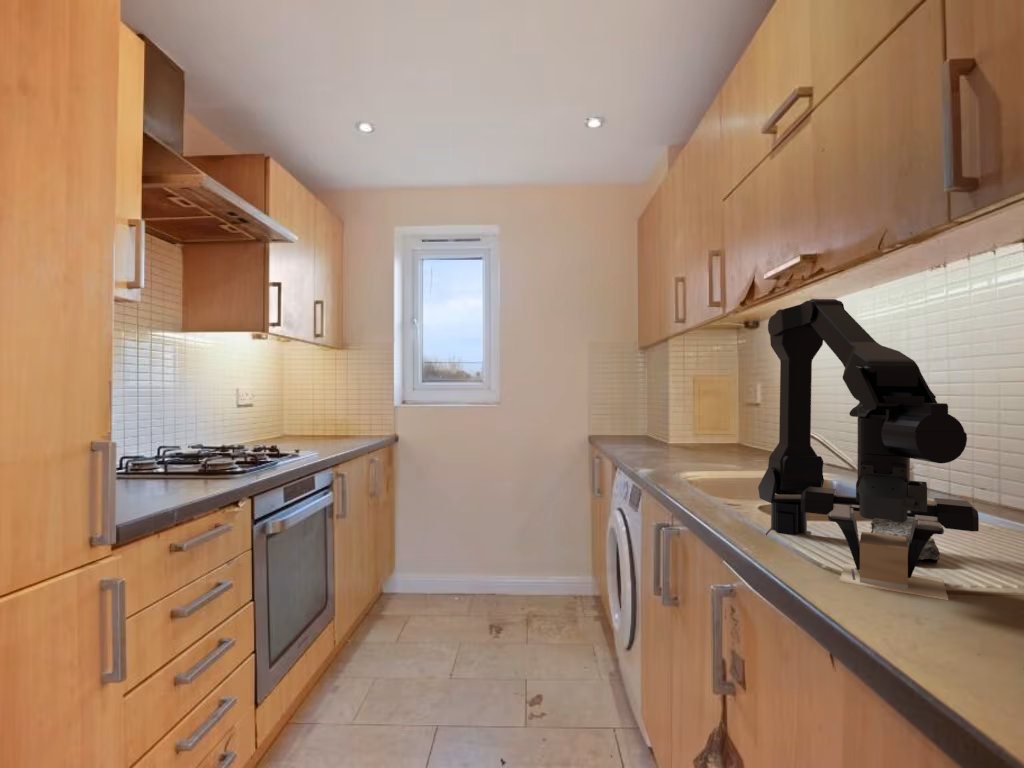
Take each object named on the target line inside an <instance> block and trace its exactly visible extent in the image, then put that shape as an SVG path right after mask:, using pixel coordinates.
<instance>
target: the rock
mask: <svg viewBox="0 0 1024 768" xmlns="http://www.w3.org/2000/svg"><path fill="white" fill-rule="evenodd" d="M913 519H914V518H911V517H907V520H906V521H905V522H893V521H892V520H887V519H878V518H874V519H871V520H872V521H871V522H870V526H871V532H870V533H878V534H886V535H894V536H902V537H906V541H907V548H909V541H910V534H911V527H912V520H913ZM929 559H931V560H933V562H935V563H938V562H939V560H941V557H940V550H939V548H938V546H937V544H936V541H935V539H934V538H932V537H931V538H930V539H929V540H928V542H927V543H926V545H925V546H924V548H923V550H922V552H921V554H920V556H919V559H918V561H919V560H929Z"/></svg>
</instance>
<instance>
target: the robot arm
mask: <svg viewBox="0 0 1024 768" xmlns="http://www.w3.org/2000/svg"><path fill="white" fill-rule="evenodd" d="M767 331H768V334H769V341H770V347H771V349H772V350H773V352H774V353H775V355H776V356H777V358H778V360H779V362H780V364H779V365H780V373H779V374H780V376H779V378H780V379H779V380H780V381H779V430H778V431H779V432H778V433H779V436H778V437H779V438H778V443H777V445H776V446H775V448H774V450H773V451H772V452H771V454H770V455H769V456H768V465H767V469H766V471H765V473H764V474H763V476H762V478H761V481H760V482H759V484H758V486H757V487H758V488H757V489H758V495H759V499H760V500H762V501H765V502H767V503H770V528H769V529H768V530H767V531H766V533H765V536H768V534H769V533H770V532H771V531H775V532H776V533H777V534H783V535H791V536H795V535H799V534H801V535H807V536H811V535H812V531H809V530H808V514H816V515H826V516H827V520H828V521H829V522H834V523H836V524H837V525H838V526H839V528H840V530H841V532H842V535H844V538H845V539H846V542H847V545H848V547H849V551H850V553H851V556H852V560H853V561H854V565H856V568H857V570H860V538H859V532H858V523H857V515H856V512H859V516H860V517H862V518H863V519H867V520H873V519H874V518H878V519H887V520H892V521H893V522H905V521H906V520H907V518H912V519H913V520H912V527H911V534H910V541H909V548H908V578H911V575H912V574H913V572H914V570H915V568H916V566H917V563H918V561H919V560H920V559H919V556H920V554H921V552H922V550H923V548H924V546H925V545H926V543H927V542H928V540H929V539H930V538H932V537H933V536H934V535H944V532H945V530H944V528H945V529H946V530H947V529H949V530H957V531H966V532H979V528H980V526H979V523H980V522H979V520H980V519H979V511H978V510H977V509H976V507H975V506H974V505H973V504H972V503H971V502H970V501H968V500H961V499H951V498H941V497H940V498H939V497H934V499H933V503H928V482H927V481H923V480H922V481H920V480H911V459H912V460H918V461H924V462H928V463H934V464H947V463H950V462H953V461H955V460H957V458H959V457H960V456H961V455H962V454H963V452H964V451H965V449H966V446H967V442H968V436H967V435H968V434H967V433H966V432H965V428H964V426H963V424H962V423H961V422H960V421H959V420H958V419H957V418H956V417H955V416H953V415H951V414H949V404H948V403H943V402H938V401H937V399H936V398H937V396H936V395H935V393H933V391H932V390H931V389H930V387H929V385H928V383H927V382H926V380H925V377H924V376H923V374H922V372H921V369H920V367H919V365H918V364H917V362H915V360H914V359H912V358H911V357H909V356H907V355H906V354H904V353H902V352H901V351H899V350H896V349H894V348H891V347H887V346H884V345H881V344H880V343H879V342H877V341H876V340H875V339H874V338H873V337H872V336H871V335H870V334H869V333H868V332H867V331H866V330H865V329H864V327H862V326H861V325H860V323H858V322H857V320H856V319H855V318H854V317H852V316H851V314H850V313H849V312H848V311H847V310H846V309H845V306H844V303H843V302H842V301H841V300H838V299H837V298H811V299H809V300H805V301H804V302H802V303H801V304H800V303H799V304H796V305H793V306H790V307H787V308H783V309H782V308H780V309H778V310H777V311H776V312H775V313H774V314H773V315H771V316H770V317H769V319H768V323H767ZM823 343H825V344H826V345H827V347H829V349H830V350H831V352H832V353H834V355H835V356H836V357H837V358H838V360H839V361H840V362H841V363H842V365H843V367H844V370H843V375H842V380H843V382H844V384H845V386H846V387H847V389H848V391H849V393H850V394H851V395H852V397H853V398H854V399H855V400H857V401H858V402H859V403H858V404H857V405H855V406H854V407H853V408H851V410H850V411H849V416H850V417H855V418H857V480H856V482H855V484H856V485H855V496H850V495H838V494H837V489H836V488H831V487H824V482H825V479H824V475H823V474H824V473H823V471H824V470H823V468H824V460H823V457H822V456H821V455H820V456H819V455H817V453H816V451H815V450H814V448H813V447H812V445H811V444H812V443H811V442H812V441H811V433H812V432H811V430H812V382H813V381H812V374H813V373H812V371H813V367H812V366H813V365H812V364H813V360H814V358H815V356H817V354H818V353H819V351H820V349H821V348H822V346H823ZM943 527H944V528H943ZM918 559H919V560H918Z"/></svg>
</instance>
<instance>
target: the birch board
mask: <svg viewBox="0 0 1024 768" xmlns="http://www.w3.org/2000/svg"><path fill="white" fill-rule="evenodd" d="M842 567H843V568H842V571H841V575H840V578H839V583H845V584H852V585H857V586H863V587H868V588H873V589H874V588H875V589H881V590H887V591H890V592H891V591H892V592H893V591H894V592H898V593H903V594H904V593H905V594H909V595H916V596H922V597H926V598H927V597H929V598H935V599H938V600H940V599H941V600H946V601H949V597H948V593H947V590H946V586H945V584H944V579H943V578H942V577H941V578H940V577H933V576H927V575H920V574H913V573H912V575H911V578H908V590H905V589H899V588H893V587H887V586H881V585H875V584H869V583H863V582H860V570H857V568H856V565H855V564H848V563H843V566H842Z"/></svg>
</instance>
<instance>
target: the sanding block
mask: <svg viewBox="0 0 1024 768" xmlns="http://www.w3.org/2000/svg"><path fill="white" fill-rule="evenodd" d="M860 533H861V534H860V538H859V544H860V582H863V583H869V584H875V585H881V586H887V587H893V588H899V589H905V590H908V548H907V541H906V537H902V536H894V535H886V534H878V533H871V532H870V531H869V532H868V531H860Z"/></svg>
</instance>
